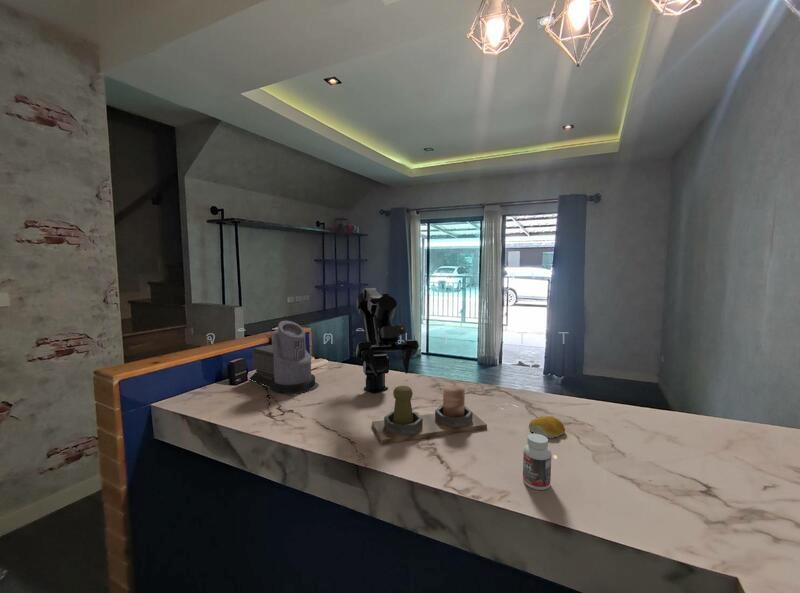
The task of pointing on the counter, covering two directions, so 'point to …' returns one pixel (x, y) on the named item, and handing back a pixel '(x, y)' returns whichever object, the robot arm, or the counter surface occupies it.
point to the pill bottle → (537, 462)
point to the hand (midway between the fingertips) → (391, 374)
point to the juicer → (285, 362)
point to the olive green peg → (403, 405)
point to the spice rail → (432, 420)
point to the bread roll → (547, 426)
